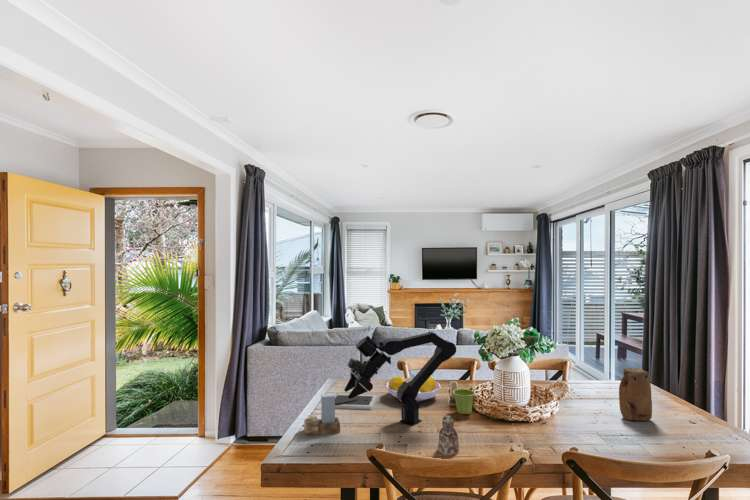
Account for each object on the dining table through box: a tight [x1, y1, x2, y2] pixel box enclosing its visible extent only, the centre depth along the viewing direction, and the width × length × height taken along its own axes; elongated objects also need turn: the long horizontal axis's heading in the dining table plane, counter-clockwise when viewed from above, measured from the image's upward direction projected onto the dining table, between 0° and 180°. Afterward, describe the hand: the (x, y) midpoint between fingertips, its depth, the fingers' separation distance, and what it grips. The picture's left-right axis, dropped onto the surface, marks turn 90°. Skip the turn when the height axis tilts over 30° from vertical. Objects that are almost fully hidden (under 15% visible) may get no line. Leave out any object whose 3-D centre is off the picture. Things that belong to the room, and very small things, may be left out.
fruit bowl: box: [386, 375, 442, 403], centre depth 199 cm, size 28×27×11 cm
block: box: [618, 367, 653, 422], centre depth 169 cm, size 11×8×20 cm
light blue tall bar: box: [320, 393, 336, 424], centre depth 161 cm, size 5×3×14 cm, turn 103°
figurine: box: [437, 412, 460, 456], centre depth 142 cm, size 7×7×12 cm
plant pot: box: [452, 388, 476, 415], centre depth 179 cm, size 9×9×9 cm
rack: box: [303, 416, 341, 437], centre depth 160 cm, size 13×6×4 cm, turn 103°
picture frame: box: [334, 393, 378, 410], centre depth 193 cm, size 16×3×21 cm
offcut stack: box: [303, 414, 318, 433], centre depth 160 cm, size 5×6×5 cm
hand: (346, 394), depth 163 cm, fingers open, 9 cm apart
